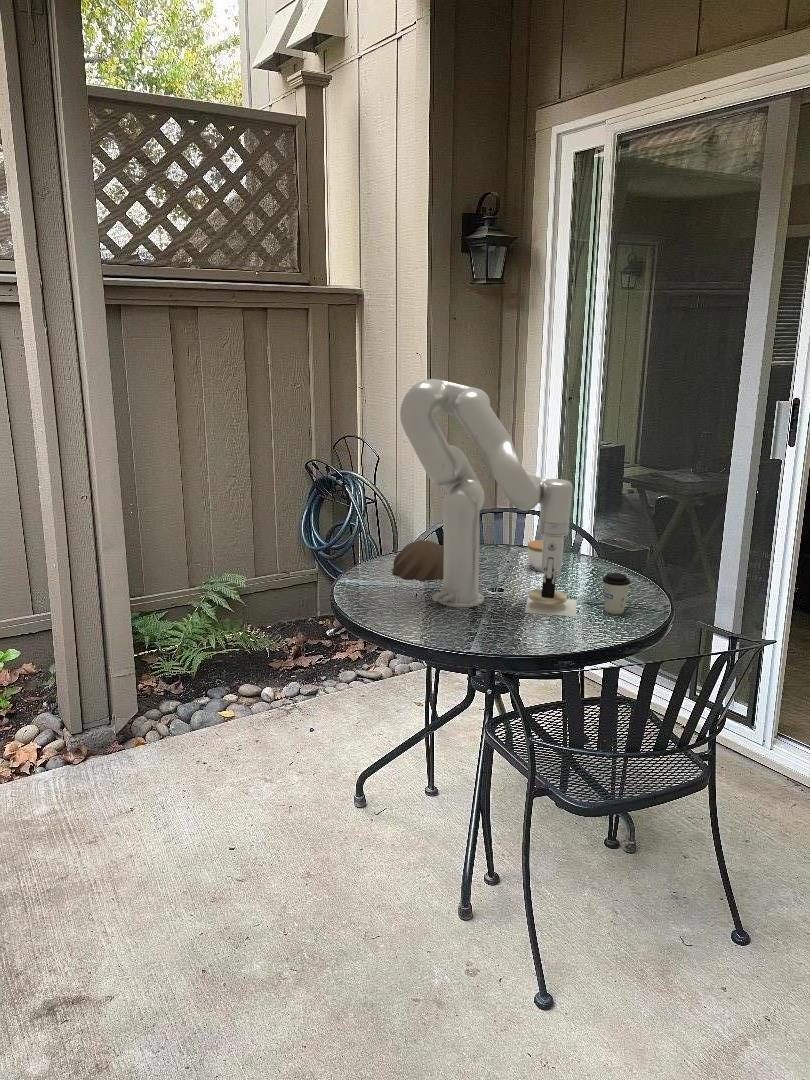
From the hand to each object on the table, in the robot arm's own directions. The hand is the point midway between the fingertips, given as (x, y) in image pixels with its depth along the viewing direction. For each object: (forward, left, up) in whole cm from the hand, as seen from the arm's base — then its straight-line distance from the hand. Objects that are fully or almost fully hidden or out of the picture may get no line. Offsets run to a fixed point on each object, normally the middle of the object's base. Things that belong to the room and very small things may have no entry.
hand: (548, 594), depth 205 cm
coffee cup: (+8, -15, -4) cm, 17 cm away
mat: (0, -1, -4) cm, 4 cm away
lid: (0, 0, -1) cm, 1 cm away
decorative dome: (+2, +45, -4) cm, 46 cm away
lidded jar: (+29, +20, -4) cm, 36 cm away
